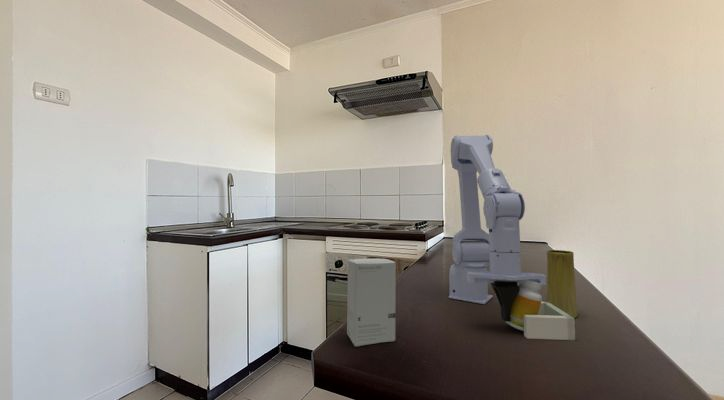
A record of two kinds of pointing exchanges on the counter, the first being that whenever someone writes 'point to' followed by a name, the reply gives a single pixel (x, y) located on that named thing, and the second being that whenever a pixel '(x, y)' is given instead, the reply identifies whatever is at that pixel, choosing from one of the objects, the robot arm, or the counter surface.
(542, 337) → the bracket
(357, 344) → the skincare box
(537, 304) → the supplement bottle
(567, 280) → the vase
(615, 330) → the counter surface
